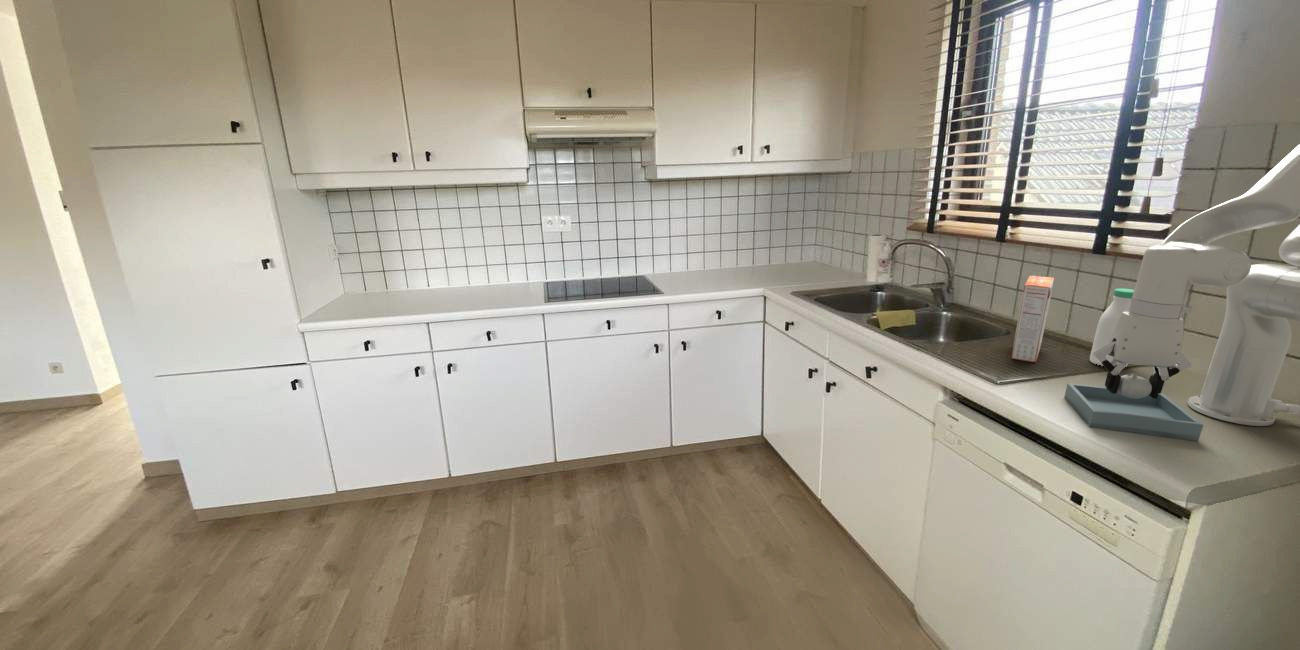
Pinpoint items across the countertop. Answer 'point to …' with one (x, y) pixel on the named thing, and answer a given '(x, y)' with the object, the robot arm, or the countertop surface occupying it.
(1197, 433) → the tray
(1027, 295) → the cracker box
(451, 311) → the countertop surface
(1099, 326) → the milk bottle
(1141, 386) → the garlic
